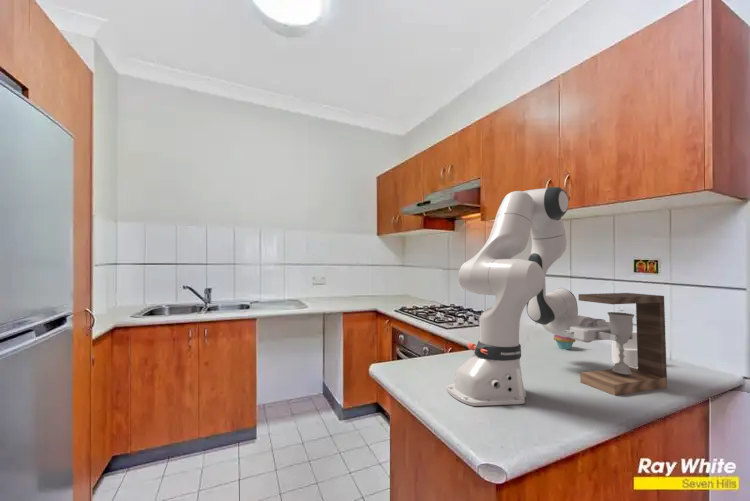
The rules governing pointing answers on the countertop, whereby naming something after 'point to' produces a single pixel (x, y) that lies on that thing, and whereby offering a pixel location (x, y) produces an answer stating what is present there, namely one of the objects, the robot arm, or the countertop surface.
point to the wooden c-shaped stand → (648, 346)
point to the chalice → (621, 336)
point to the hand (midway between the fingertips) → (624, 337)
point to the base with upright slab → (626, 351)
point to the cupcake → (564, 341)
